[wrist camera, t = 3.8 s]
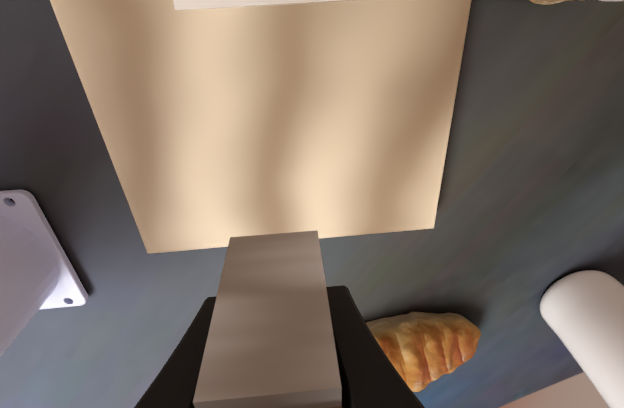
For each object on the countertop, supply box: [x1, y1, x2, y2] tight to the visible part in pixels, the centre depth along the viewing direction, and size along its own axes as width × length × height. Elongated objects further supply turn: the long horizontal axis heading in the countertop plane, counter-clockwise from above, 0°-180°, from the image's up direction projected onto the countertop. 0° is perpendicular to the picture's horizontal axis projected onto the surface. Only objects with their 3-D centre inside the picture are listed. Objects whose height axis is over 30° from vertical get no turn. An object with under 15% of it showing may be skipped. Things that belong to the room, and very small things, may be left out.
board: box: [50, 0, 471, 254], centre depth 14 cm, size 16×20×1 cm
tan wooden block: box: [193, 230, 342, 408], centre depth 9 cm, size 3×3×5 cm
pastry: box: [366, 312, 481, 392], centre depth 24 cm, size 9×7×4 cm
